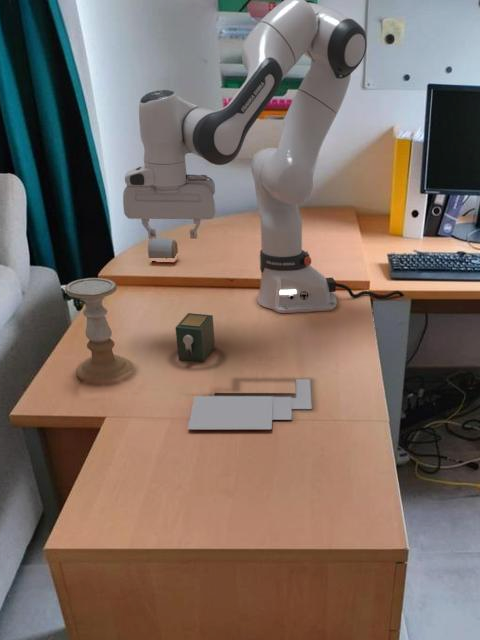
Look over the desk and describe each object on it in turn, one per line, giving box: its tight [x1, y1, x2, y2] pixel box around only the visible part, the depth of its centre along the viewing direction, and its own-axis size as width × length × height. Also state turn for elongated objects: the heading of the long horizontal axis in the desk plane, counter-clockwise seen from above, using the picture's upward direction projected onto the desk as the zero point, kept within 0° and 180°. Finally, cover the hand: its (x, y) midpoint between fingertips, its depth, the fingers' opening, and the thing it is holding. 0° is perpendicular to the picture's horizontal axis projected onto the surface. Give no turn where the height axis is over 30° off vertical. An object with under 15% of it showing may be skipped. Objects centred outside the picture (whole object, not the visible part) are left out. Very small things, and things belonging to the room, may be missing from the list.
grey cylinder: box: [147, 236, 179, 259], centre depth 227 cm, size 11×8×8 cm
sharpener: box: [174, 312, 216, 363], centre depth 167 cm, size 12×6×8 cm, turn 172°
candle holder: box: [64, 277, 133, 382], centre depth 157 cm, size 12×12×20 cm
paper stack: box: [186, 378, 313, 431], centre depth 153 cm, size 23×25×1 cm
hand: (173, 237), depth 166 cm, fingers open, 8 cm apart
